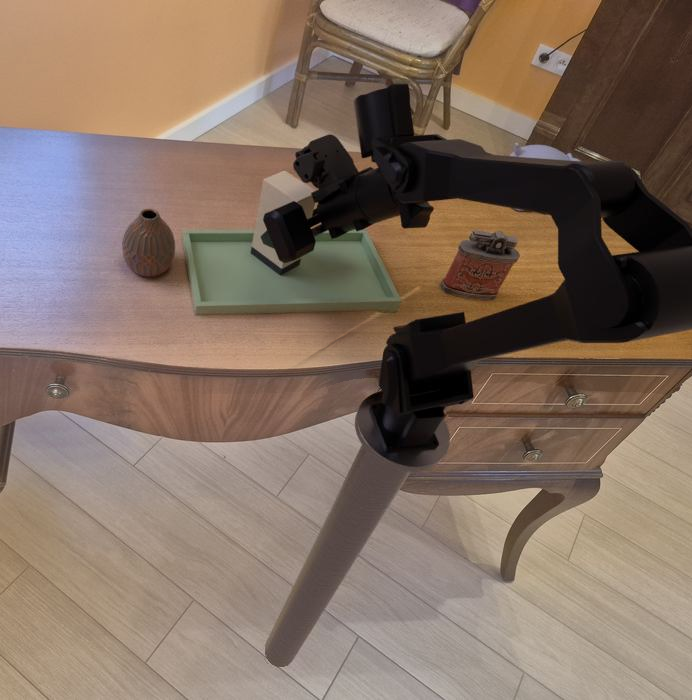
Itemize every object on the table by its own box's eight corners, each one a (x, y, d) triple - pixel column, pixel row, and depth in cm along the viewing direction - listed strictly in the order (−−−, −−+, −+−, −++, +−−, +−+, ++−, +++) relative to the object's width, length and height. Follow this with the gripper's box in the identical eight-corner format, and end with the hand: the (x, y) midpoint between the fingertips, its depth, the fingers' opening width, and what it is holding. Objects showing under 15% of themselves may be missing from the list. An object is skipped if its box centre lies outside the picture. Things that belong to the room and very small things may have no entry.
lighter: (493, 287, 89) (525, 230, 82) (498, 302, 86) (531, 246, 79) (438, 279, 89) (465, 221, 81) (441, 294, 86) (470, 237, 79)
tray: (397, 311, 83) (402, 300, 81) (194, 317, 78) (196, 306, 76) (362, 240, 93) (366, 229, 92) (182, 241, 88) (182, 229, 87)
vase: (113, 273, 82) (111, 219, 75) (138, 246, 86) (138, 192, 80) (159, 291, 80) (161, 237, 74) (182, 262, 85) (186, 208, 78)
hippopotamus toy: (583, 217, 105) (615, 168, 98) (499, 210, 103) (526, 159, 96) (559, 183, 112) (587, 134, 105) (481, 175, 111) (504, 125, 104)
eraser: (299, 265, 86) (318, 191, 78) (280, 275, 84) (297, 201, 76) (269, 243, 89) (284, 170, 80) (250, 253, 87) (263, 179, 78)
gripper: (399, 108, 72) (311, 151, 85) (290, 149, 63) (210, 192, 76) (430, 197, 74) (340, 227, 88) (329, 251, 65) (245, 275, 78)
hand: (286, 228), depth 82 cm, fingers open, 9 cm apart
